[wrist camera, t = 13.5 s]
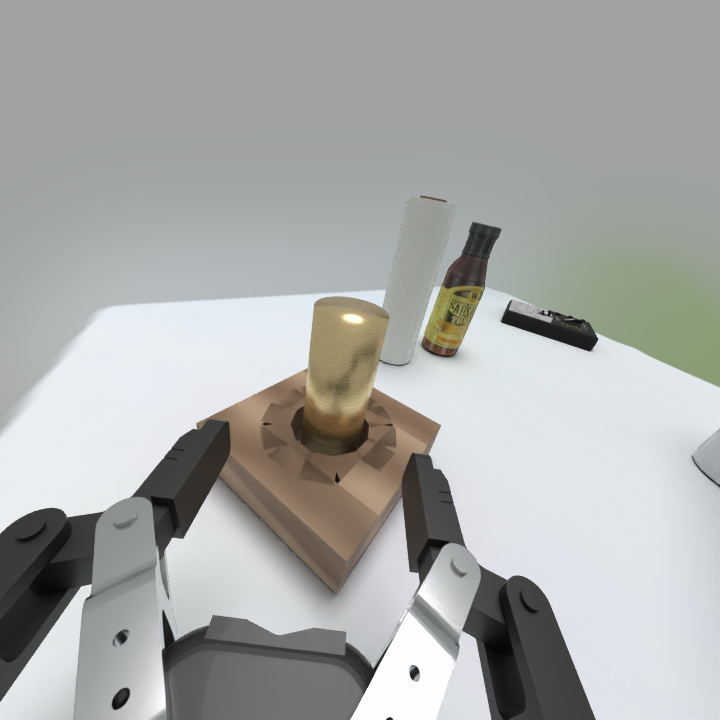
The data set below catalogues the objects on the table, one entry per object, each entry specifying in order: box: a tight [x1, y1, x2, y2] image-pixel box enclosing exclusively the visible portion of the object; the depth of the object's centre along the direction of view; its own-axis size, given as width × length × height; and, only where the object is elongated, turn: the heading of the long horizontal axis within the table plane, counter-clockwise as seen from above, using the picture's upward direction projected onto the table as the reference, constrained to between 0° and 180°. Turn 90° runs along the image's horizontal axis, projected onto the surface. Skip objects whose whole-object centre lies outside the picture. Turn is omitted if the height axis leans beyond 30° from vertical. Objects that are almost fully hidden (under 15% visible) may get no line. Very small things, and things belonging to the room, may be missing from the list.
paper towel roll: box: [380, 196, 458, 365], centre depth 38 cm, size 7×6×21 cm
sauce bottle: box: [422, 222, 501, 356], centre depth 44 cm, size 6×6×20 cm
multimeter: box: [501, 300, 598, 351], centre depth 69 cm, size 13×19×5 cm
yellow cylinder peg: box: [301, 297, 390, 457], centre depth 21 cm, size 5×5×14 cm
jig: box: [196, 368, 441, 595], centre depth 24 cm, size 14×14×4 cm
